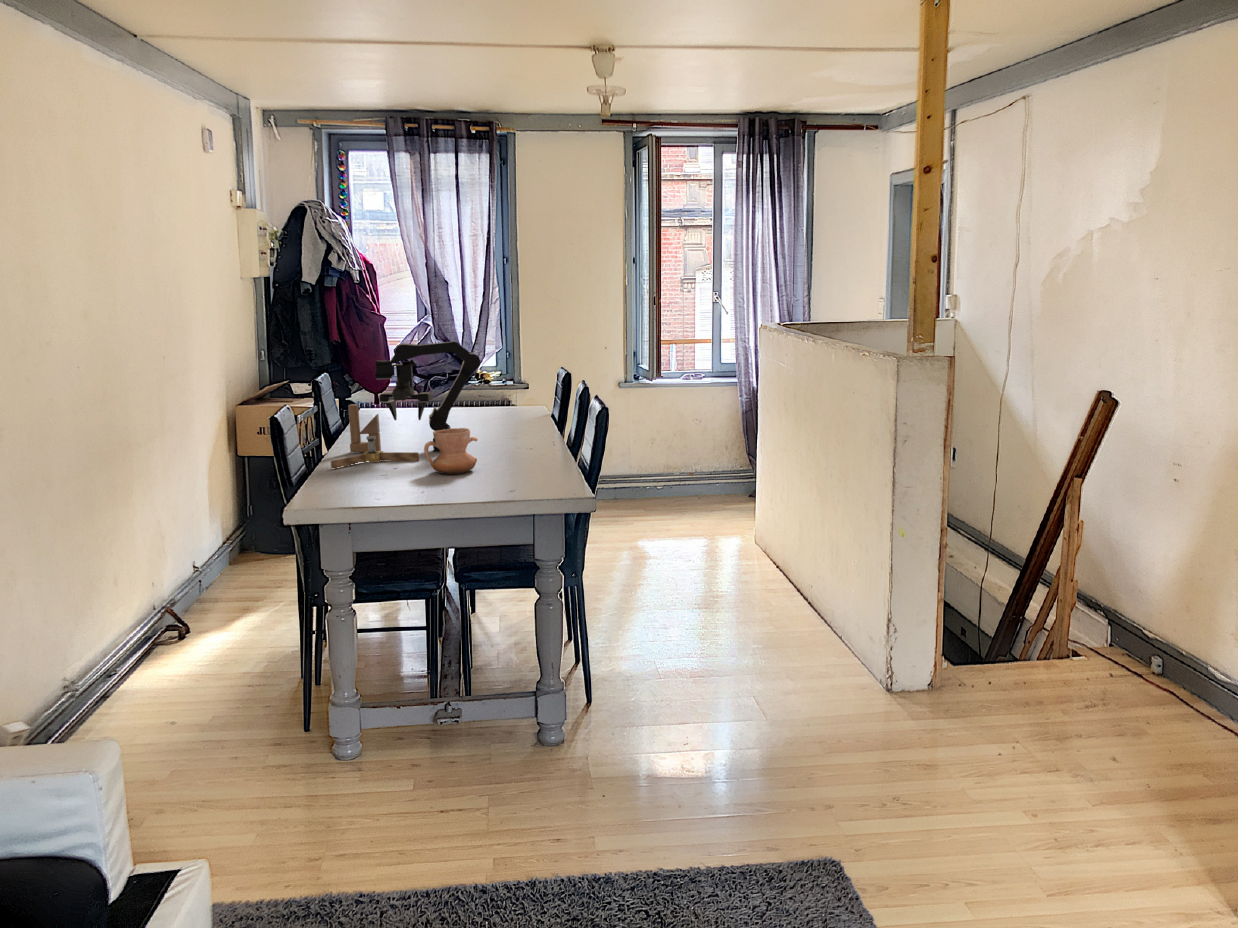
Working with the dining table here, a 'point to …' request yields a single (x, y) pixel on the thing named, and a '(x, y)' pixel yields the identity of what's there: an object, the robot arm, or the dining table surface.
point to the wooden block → (355, 432)
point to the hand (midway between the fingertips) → (407, 420)
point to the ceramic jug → (451, 451)
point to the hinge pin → (371, 444)
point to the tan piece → (376, 458)
